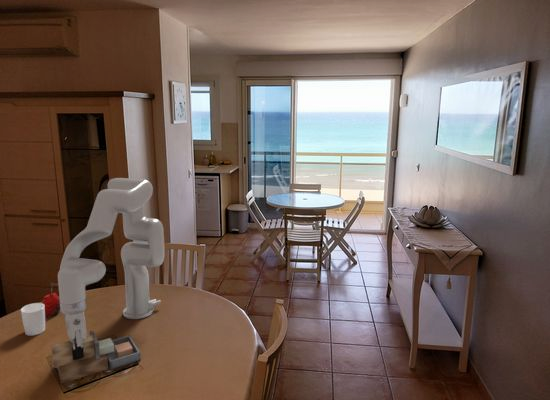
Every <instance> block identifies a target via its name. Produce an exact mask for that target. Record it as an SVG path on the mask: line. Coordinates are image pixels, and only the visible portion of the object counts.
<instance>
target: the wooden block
mask: <svg viewBox="0 0 550 400" xmlns="http://www.w3.org/2000/svg"><path fill="white" fill-rule="evenodd" d="M56 369H57V371H58V375H59V379H60V383H61V384H65V383H67V382H71V381H74V380H78V379H80V378H83V377H87V376H89V375H93V374H96V373H100V372H102V371H103V372H104V371H106V370H109V365H108V358H107V356H106V354H103V355H100V359H98V360H96V358H95V356H93V357H90V358H86V359H83V360H79V361H76V362H73V363H69V364H66V365H63V366H59V367H56Z"/></svg>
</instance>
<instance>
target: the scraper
mask: <svg viewBox="0 0 550 400" xmlns="http://www.w3.org/2000/svg"><path fill="white" fill-rule="evenodd" d="M98 341H99V340H98V338H97V335H96V333H95V331H94V330H90V331H89V335H87V339H83V338H82V344H83V352H84V357H83V358H81V359H78V360H73V354H72V349H73V343H72V342H71V341H70V340H68V341H64V342H60V343H57V344H52V345H50V346H51V347H50V348H51V357H52V358H51V359H52V365H53V369H55V368H56V369H57V367H59V366H63V365H66V364H69V363H73V362H76V361H79V360H83V359H86V358H90V357H93V356H95V358H96V360H98V359H100V349H99V342H98ZM75 344H76V342H75Z"/></svg>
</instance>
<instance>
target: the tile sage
mask: <svg viewBox="0 0 550 400" xmlns="http://www.w3.org/2000/svg"><path fill="white" fill-rule="evenodd" d="M112 340H113V339H112V338H111V337H109V338H105V339H102V340H101V339H100V340H98V342H99V349H100V355H103V354H107V353H110V352H114V344H113V342H112Z"/></svg>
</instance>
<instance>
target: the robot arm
mask: <svg viewBox="0 0 550 400" xmlns="http://www.w3.org/2000/svg"><path fill="white" fill-rule="evenodd" d="M153 191H154V187H153V185H152V183H151V182H150V181H149V180H147V179H142V178H141V179H140V178H128V177H127V178H126V177H125V178H124V177H114V178H111V179H109V181H108V183H107V188H105V189H101V190H100V191H99V192H98V194H97V196H96V198H95V200H94V204H93V207H92V211H91V213H90V216H89V219H88V221H87V226H86V227H85V228H84V229H83V230H81V232H79V233H78V234H77V235H76V236H75V237H74V238H73V239H72V240H71V241H70V242H68V244H67V246H66V248H65V250H64V253H63V256H62V259H61V261H60V266H59V271H58V273H57V282H58V283H57V284H58V285H57V286H58V293H59V294H58V295H59V296H58V297H59V299H60V312H61V313H62V314H64V319H65V327H66V331H67V336H68V338H69V341H71V342H72V343H73V349H72V354H73V360H78V359H81V358H83V357H84V352H83V344H82V338H83V339H87V336H88V334H87V333H88V332H87V323H86V318H85V317H86V316H85V310H86V309H87V296H86V295H87V293H86V287H87V286H89V285H91V284H94V283H97V282H99V281H101V280H102V279H103V277H104V276H105V275H106V271H107V268H106V265H105V263H104V262H103V261H100V260H98V259H91V258H90V259H89V258H83V257H82V258H81V257H80V256H81V254H82V252H83V251H84V249H85V248H87V246H89V245H91V244H92V243H95V242H97V241H99V240H102V239H105V238H108V237H109V236H111V235H112V233H113V231H114V227H115V224H116V220H117V217H118V214H120V213H121V214H122V226H123V228H122V229H123V234H124V237H125V238H126V239H128V240H133V241H129V242H127V243H125V244H124V245H123V246H122V247H121V250H120V257H121V261H122V265H123V271H124V288H125V305H126V307H125V308H124V309H123V310H122V316H123V317H124V318H126V319H129V320H139V319H144V318H148V317H150V316H151V315H152V314H154V311H155V310H154V309H155V308H154V307H155V306H160V305H162V302H161V299H158V300H157V299H156V298H154V299H150V282H149V281H150V280H149V279H150V278H149V275H150V274H149V271H148V269H147V267H151V268H152V267H153V268H155V267H156V268H157V267H160V266H161V265H162V264H163V263H164V259H165V235H164V234H165V233H164V232H165V231H164V230H165V229H164V225H163V223H162V221H160V219H157V218H154V217H153V218H152V217H146V215H145V214H146V213H145V204H146V203H147V202H148V201H149V200H151V198H152V196H153V193H154V192H153ZM139 241H140V242H139ZM75 342H76V344H75Z"/></svg>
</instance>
